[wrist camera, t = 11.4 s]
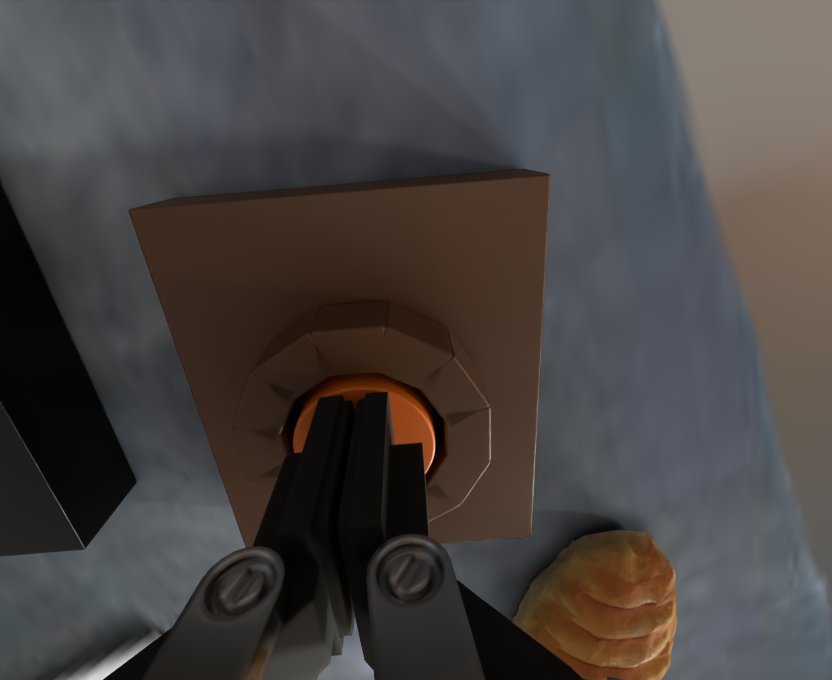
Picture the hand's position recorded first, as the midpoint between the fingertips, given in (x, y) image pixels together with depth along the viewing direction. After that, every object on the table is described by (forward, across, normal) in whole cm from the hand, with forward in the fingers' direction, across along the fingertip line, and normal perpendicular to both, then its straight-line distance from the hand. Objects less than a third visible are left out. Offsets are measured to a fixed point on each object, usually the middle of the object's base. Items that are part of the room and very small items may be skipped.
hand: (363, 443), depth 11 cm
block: (+4, 0, 0) cm, 4 cm away
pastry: (+4, -8, +13) cm, 16 cm away
